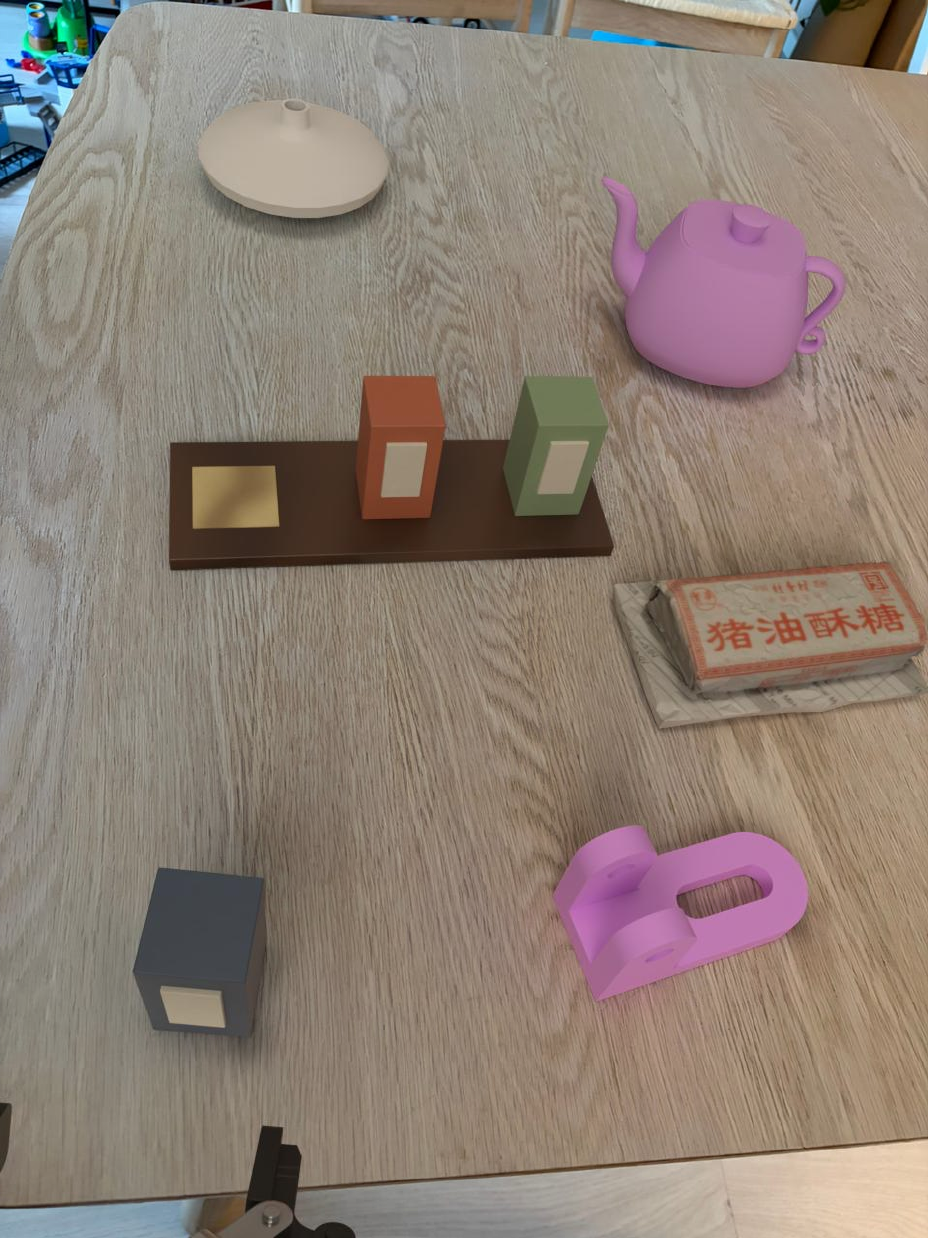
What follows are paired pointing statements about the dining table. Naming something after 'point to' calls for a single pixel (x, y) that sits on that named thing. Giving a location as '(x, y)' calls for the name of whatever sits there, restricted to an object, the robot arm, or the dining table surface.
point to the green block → (554, 445)
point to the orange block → (399, 446)
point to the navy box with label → (202, 952)
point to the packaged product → (772, 641)
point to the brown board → (354, 510)
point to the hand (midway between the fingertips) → (135, 1139)
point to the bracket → (670, 905)
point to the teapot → (719, 291)
